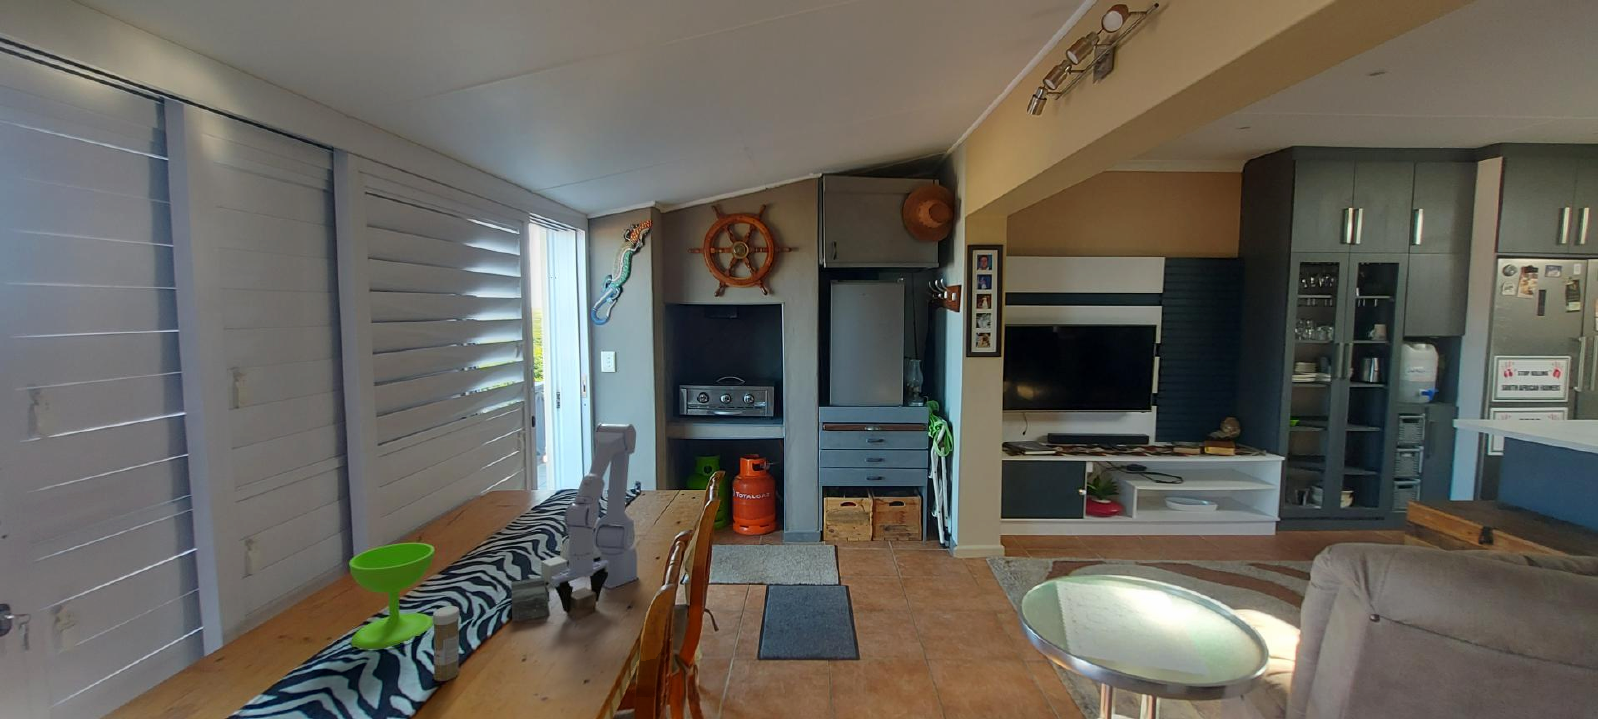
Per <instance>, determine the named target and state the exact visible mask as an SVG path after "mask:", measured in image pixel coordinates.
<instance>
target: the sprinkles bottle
mask: <svg viewBox="0 0 1598 719" xmlns="http://www.w3.org/2000/svg"><path fill="white" fill-rule="evenodd" d="M432 619H433V623H434V629H433V634H434V635H433V670H434V671H433V679H434V681H438V682H445V681H449V680H452V679H454V678H455V677H457V676H458V675H459V673H460V668H459V657H460V632H459V620H460V609H459V607H458V606H454V605H451V606H443V607H441V608H438V609H436V610H435V611H434V612H433V614H432Z"/></svg>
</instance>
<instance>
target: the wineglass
mask: <svg viewBox="0 0 1598 719" xmlns="http://www.w3.org/2000/svg"><path fill="white" fill-rule="evenodd" d="M434 554H435V546H433V545H431V544H428V543H423V542H405V543H404V542H401V543H395V544H389V545H384V546H378V547H376V548H375V547H374V548H372V549H369V550H365V551H364V552H360V553H359V554H357V555H355V556H353V557H352V558H351V559H350V560H349V563H348V564H349V570H350V574H351V576H352V578H353V579H354V580H355V582H356V583H357V584H358V585H359V586H361V587H362V588H363V589H365V590H368V591H371V592H374V593H378V594H388V616H386V617H383V618H379V619H377V620H375V621H372V622H370V623H368V624H366V625H365V626H363V627H361V628H360V629H359V630H358V631H356V633H354V635H353V636H352V637H351V641H350V645H351V644H352V645H351V647H352V646H355V647H357V648H362V649H367V650H368V649H381V648H387V647H389V646H395V645H398V644H400V643H402V642H404V641H408V640H410V639H411V638H413V637H415V636H420V635H421V634H422V633H424V632H425V631H428V629H430V628H431V626H433V625H434V623H433V617H431V616H430V615H427V614H425V613H418V612H417V613H416V612H414V613H413V612H411V613H410V612H408V613H400V591H403V590H405V589H408V588H409V587H411V586H413V585H414V584H416V583H417V582H418V581H419V580H421V579H422V578H423V576H425V574H426V573H427V571H428V570H429V569H430V567H431V565H432V562H433V560H434Z"/></svg>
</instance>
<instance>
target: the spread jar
mask: <svg viewBox="0 0 1598 719" xmlns="http://www.w3.org/2000/svg"><path fill="white" fill-rule="evenodd" d="M599 519H600V518H598V520H599ZM598 520H597V521H598ZM596 526H597V522H596V524H595V526H594V533H595V530H596ZM559 557H560V558H562V559H564V560H567V563H569V538H566V539H565V540H564V542H563V543H562V546H561V550H560V554H559ZM599 561H601V552H600V551H598V548H597V547H596V546H595V544H594V562H599Z"/></svg>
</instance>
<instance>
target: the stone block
mask: <svg viewBox="0 0 1598 719" xmlns="http://www.w3.org/2000/svg"><path fill="white" fill-rule="evenodd" d="M510 586H511V587H510V588H511V589H510V592H511V614H512V623H513V624H514V623H519V622H524V621H529V620H535V619H539V618H542V617H543V618H546V617H549V616H550V613H551V612H550V606H549V601H550V599H551V598H550V591H549V589H548V586H547V584H546V581H544V578H541V577H538V578H530V579H524V580H517V581H516V580H515V581H511V583H510Z"/></svg>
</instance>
